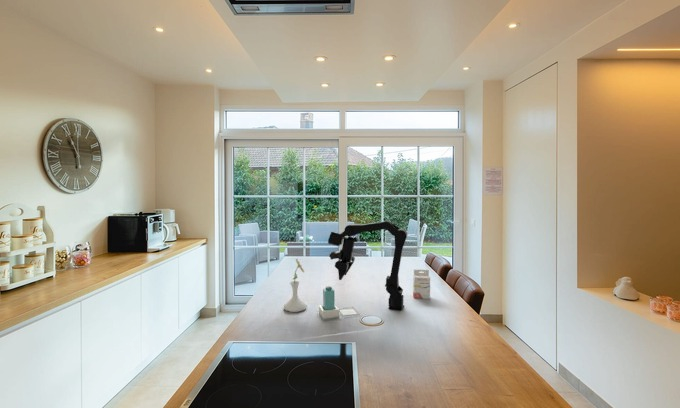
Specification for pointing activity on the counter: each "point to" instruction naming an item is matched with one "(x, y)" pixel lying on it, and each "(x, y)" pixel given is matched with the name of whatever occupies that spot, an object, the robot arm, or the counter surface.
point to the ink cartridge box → (421, 284)
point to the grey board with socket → (337, 313)
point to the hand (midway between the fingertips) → (342, 277)
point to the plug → (328, 298)
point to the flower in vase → (295, 296)
